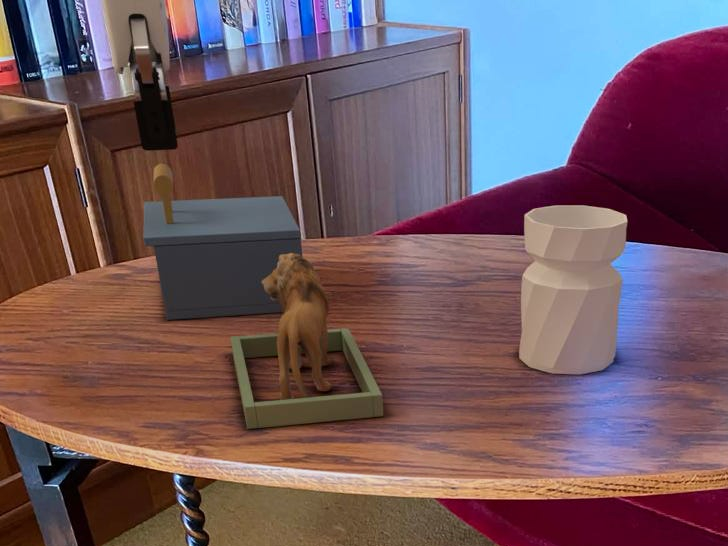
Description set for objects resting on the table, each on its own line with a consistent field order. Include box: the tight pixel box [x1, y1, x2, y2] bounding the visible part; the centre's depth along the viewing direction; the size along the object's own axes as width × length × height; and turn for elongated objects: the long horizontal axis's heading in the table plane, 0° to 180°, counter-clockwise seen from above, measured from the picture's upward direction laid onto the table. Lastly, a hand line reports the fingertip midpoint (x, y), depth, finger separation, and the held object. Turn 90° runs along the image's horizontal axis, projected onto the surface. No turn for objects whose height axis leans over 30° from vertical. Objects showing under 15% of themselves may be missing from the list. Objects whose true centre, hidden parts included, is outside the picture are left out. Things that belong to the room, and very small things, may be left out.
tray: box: [229, 327, 384, 430], centre depth 81 cm, size 11×17×2 cm, turn 15°
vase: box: [518, 205, 628, 376], centre depth 84 cm, size 9×9×12 cm
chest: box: [153, 238, 304, 321], centre depth 100 cm, size 14×16×7 cm
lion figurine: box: [262, 253, 332, 400], centre depth 79 cm, size 15×5×9 cm, turn 14°
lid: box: [142, 163, 302, 247], centre depth 96 cm, size 15×16×5 cm
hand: (160, 140), depth 92 cm, fingers open, 9 cm apart
